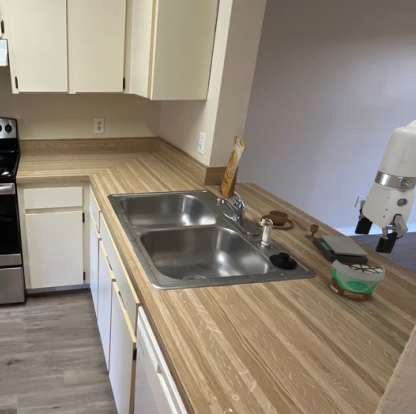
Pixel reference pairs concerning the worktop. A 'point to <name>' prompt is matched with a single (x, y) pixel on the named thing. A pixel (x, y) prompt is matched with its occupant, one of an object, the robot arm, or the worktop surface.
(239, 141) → the pancake mix bag
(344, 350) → the worktop surface
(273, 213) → the place setting
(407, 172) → the robot arm
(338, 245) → the pan
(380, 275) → the food container
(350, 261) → the scale
